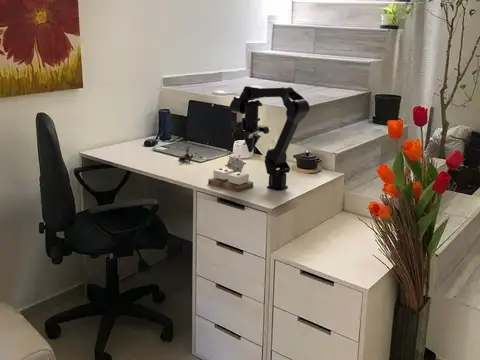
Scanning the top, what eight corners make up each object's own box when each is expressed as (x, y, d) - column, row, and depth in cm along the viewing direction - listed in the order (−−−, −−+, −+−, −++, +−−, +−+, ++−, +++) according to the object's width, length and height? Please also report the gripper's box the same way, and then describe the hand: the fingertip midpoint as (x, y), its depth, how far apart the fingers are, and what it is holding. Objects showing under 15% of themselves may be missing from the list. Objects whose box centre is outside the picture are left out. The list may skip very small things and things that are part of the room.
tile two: (233, 176, 242) (233, 169, 241) (224, 180, 237) (224, 172, 236) (222, 174, 245) (222, 166, 244) (213, 177, 241) (213, 169, 240)
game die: (238, 182, 256) (243, 168, 249) (220, 174, 257) (225, 160, 249) (245, 168, 262) (250, 154, 254) (228, 160, 262) (232, 146, 255)
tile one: (248, 181, 237) (248, 173, 236) (239, 184, 232) (239, 176, 231) (237, 178, 240) (237, 171, 239) (227, 181, 236) (228, 174, 235)
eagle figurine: (200, 159, 274) (191, 151, 281) (194, 148, 269) (185, 141, 276) (187, 168, 272) (179, 160, 279) (181, 158, 268) (172, 150, 274)
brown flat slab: (253, 186, 238) (253, 182, 238) (237, 192, 231) (238, 187, 230) (224, 178, 248) (224, 174, 247) (208, 183, 241) (208, 179, 240)
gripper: (249, 110, 253) (248, 145, 257) (222, 116, 239) (221, 152, 243) (270, 113, 246) (268, 149, 251) (243, 119, 232) (242, 157, 237)
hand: (250, 152), depth 245 cm, fingers closed
